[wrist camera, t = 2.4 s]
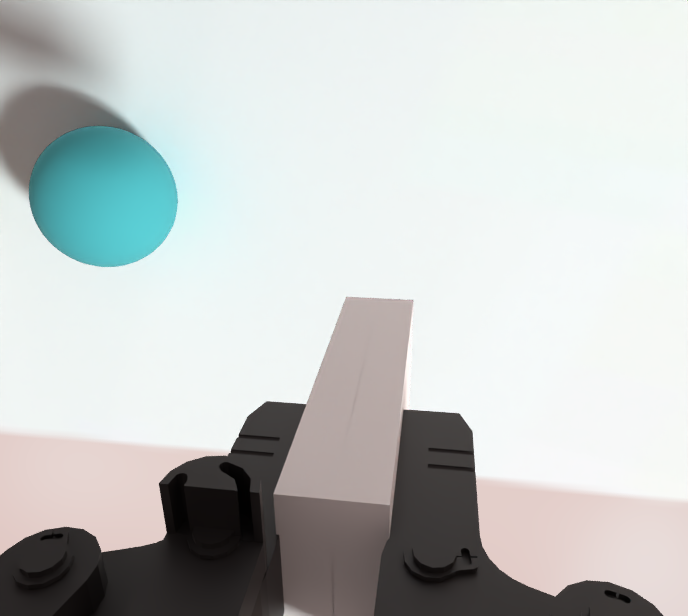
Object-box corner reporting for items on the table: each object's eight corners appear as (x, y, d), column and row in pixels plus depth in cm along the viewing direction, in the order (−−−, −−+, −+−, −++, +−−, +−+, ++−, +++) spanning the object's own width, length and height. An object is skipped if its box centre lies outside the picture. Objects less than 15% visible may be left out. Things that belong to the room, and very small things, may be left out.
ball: (66, 116, 29) (-21, 136, 23) (189, 117, 28) (129, 139, 23) (89, 240, 31) (15, 284, 26) (203, 244, 30) (151, 291, 25)
